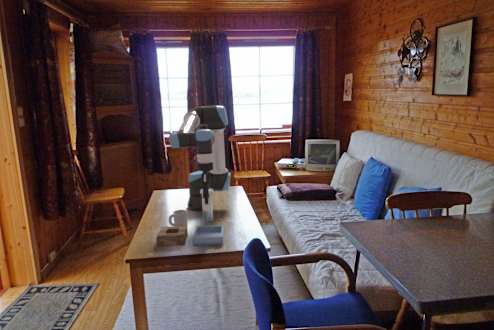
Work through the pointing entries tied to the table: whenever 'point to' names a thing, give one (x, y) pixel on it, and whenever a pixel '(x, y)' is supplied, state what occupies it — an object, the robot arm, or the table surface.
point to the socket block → (172, 236)
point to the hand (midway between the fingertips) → (207, 208)
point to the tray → (208, 235)
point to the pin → (209, 214)
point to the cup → (179, 218)
